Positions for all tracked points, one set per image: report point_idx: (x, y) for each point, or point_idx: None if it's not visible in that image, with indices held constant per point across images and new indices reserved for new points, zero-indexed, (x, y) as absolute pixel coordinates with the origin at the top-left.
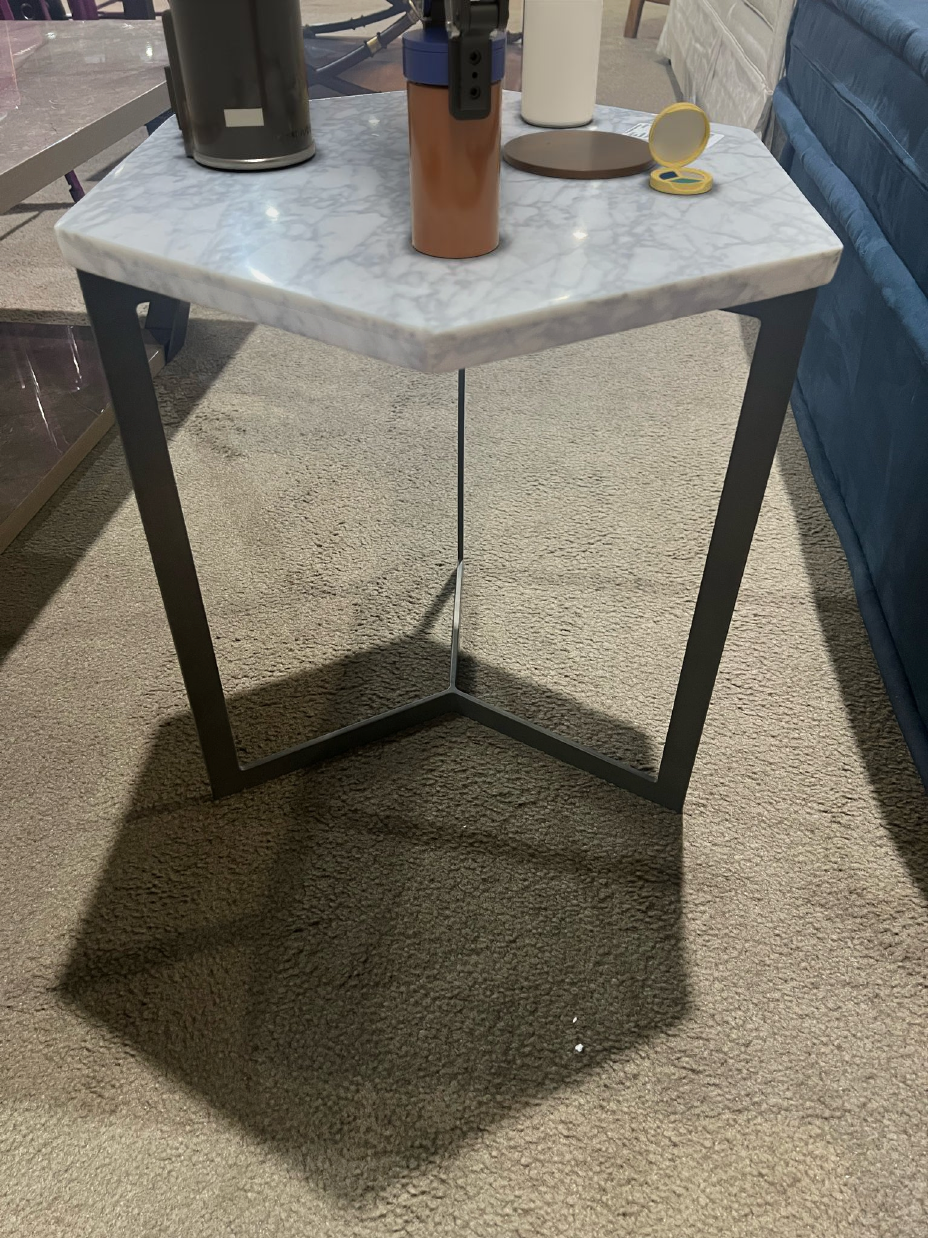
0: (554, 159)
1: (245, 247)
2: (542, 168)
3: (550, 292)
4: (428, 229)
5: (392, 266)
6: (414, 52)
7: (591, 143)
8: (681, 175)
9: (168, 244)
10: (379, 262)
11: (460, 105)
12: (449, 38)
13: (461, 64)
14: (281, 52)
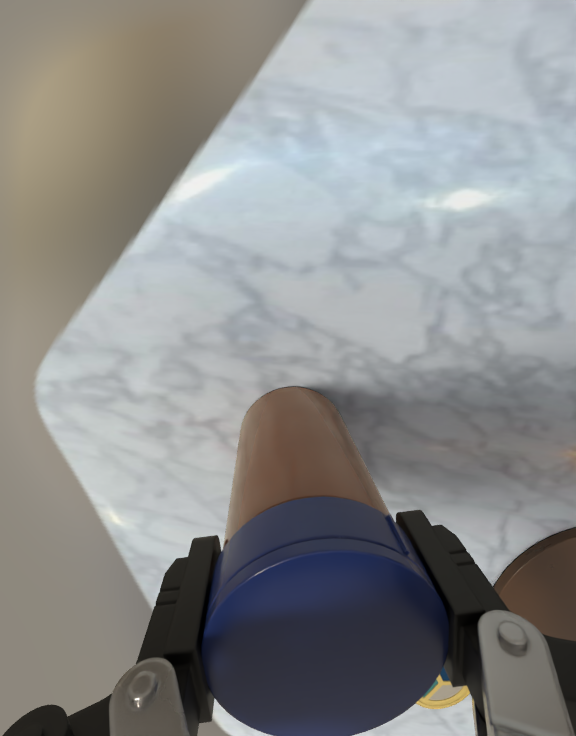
0: (549, 579)
1: (319, 157)
2: (523, 562)
3: (131, 510)
4: (253, 414)
5: (222, 357)
6: (254, 554)
7: None
8: (445, 684)
9: (353, 22)
10: (238, 343)
11: (179, 563)
12: (152, 658)
13: (147, 629)
14: None
